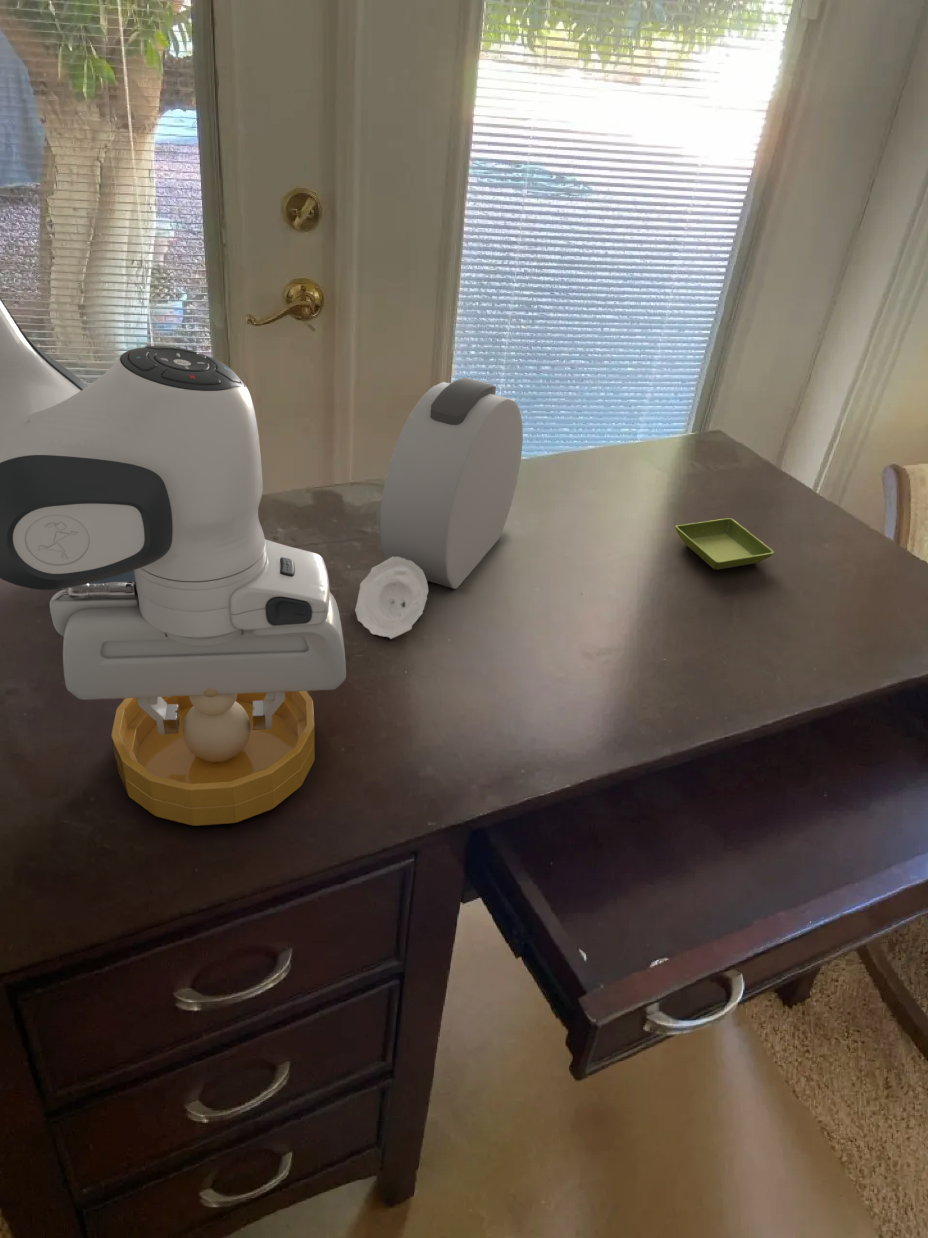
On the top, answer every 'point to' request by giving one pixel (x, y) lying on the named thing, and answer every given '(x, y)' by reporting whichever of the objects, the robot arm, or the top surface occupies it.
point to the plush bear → (216, 726)
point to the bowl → (214, 763)
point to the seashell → (392, 597)
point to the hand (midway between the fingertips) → (216, 726)
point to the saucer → (723, 543)
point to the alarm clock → (452, 479)
